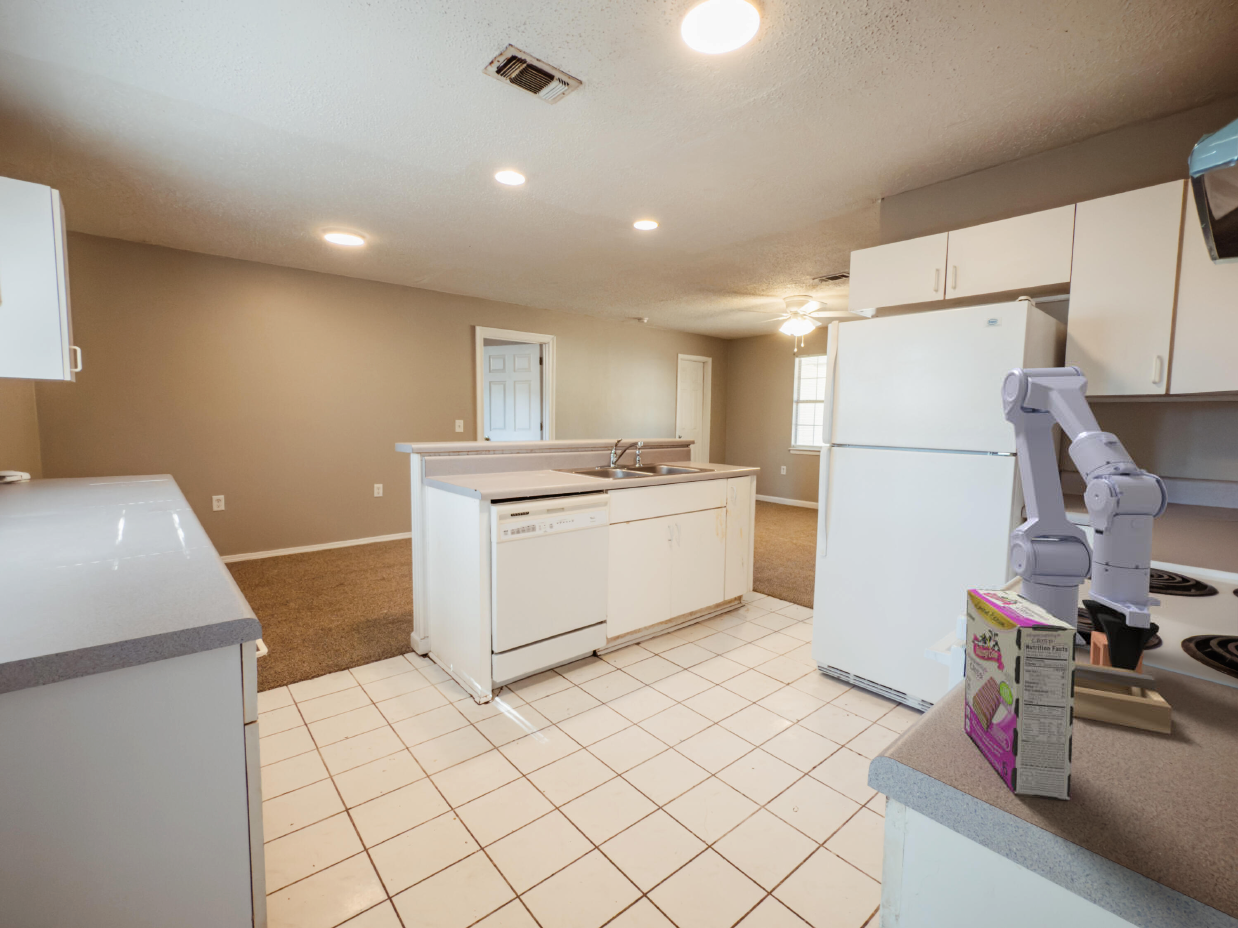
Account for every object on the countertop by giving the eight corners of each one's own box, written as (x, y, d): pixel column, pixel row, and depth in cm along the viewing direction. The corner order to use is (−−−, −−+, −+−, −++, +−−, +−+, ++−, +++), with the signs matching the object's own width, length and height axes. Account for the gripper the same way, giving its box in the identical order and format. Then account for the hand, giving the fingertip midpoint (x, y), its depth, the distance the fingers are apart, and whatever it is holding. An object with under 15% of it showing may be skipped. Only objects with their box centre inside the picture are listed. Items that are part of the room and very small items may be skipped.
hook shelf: (1046, 679, 72) (1047, 648, 72) (1135, 693, 68) (1137, 661, 68) (1066, 714, 63) (1068, 680, 63) (1170, 733, 59) (1172, 697, 59)
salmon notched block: (1090, 661, 76) (1091, 630, 76) (1127, 667, 74) (1129, 635, 74) (1101, 676, 72) (1103, 643, 72) (1141, 682, 70) (1143, 649, 70)
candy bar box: (960, 729, 60) (964, 587, 59) (1009, 734, 59) (1015, 589, 58) (1011, 796, 49) (1017, 623, 48) (1073, 803, 48) (1081, 626, 47)
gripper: (1186, 581, 64) (1180, 691, 65) (1139, 554, 77) (1133, 647, 78) (1109, 574, 67) (1103, 679, 68) (1075, 550, 80) (1071, 638, 81)
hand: (1115, 661), depth 73 cm, fingers closed on salmon notched block, 5 cm apart
